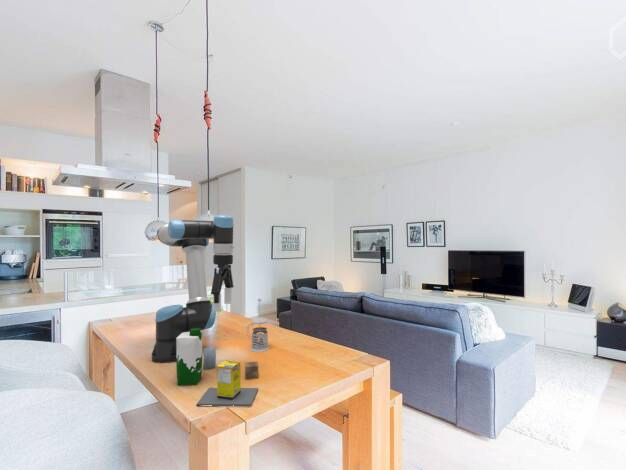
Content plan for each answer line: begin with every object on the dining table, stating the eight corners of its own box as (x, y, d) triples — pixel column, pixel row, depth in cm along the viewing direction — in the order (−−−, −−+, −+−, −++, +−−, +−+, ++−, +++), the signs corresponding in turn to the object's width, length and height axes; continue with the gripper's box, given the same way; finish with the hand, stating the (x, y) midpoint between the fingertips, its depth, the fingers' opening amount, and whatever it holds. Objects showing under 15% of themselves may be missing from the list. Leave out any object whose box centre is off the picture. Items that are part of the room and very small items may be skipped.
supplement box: (241, 392, 117) (240, 361, 117) (232, 400, 111) (232, 367, 111) (225, 390, 119) (225, 359, 119) (216, 398, 113) (216, 365, 113)
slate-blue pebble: (201, 369, 140) (201, 350, 140) (205, 365, 145) (205, 346, 145) (213, 369, 140) (213, 350, 140) (217, 365, 144) (217, 346, 145)
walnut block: (245, 379, 129) (245, 367, 130) (245, 374, 134) (245, 362, 134) (258, 378, 131) (258, 365, 131) (257, 373, 135) (257, 361, 136)
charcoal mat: (196, 406, 109) (196, 403, 109) (209, 389, 121) (209, 387, 121) (251, 406, 108) (251, 404, 108) (258, 390, 120) (258, 387, 120)
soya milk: (198, 385, 124) (198, 332, 124) (173, 386, 123) (173, 332, 124) (204, 376, 133) (204, 326, 133) (181, 377, 132) (181, 326, 132)
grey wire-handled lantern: (265, 352, 161) (265, 300, 161) (243, 351, 163) (243, 299, 163) (272, 346, 170) (272, 297, 171) (251, 344, 173) (250, 296, 173)
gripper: (222, 256, 120) (222, 315, 120) (240, 252, 145) (240, 300, 145) (202, 256, 120) (201, 314, 121) (223, 252, 145) (223, 300, 146)
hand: (222, 307), depth 133 cm, fingers open, 13 cm apart
